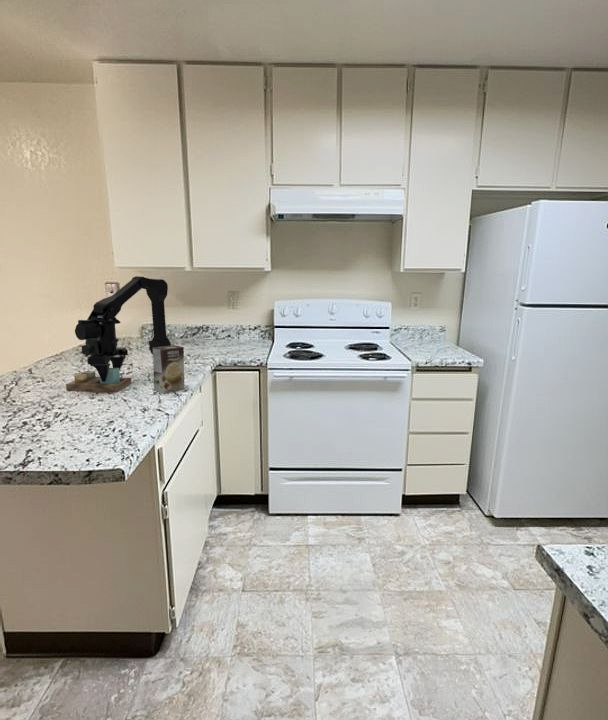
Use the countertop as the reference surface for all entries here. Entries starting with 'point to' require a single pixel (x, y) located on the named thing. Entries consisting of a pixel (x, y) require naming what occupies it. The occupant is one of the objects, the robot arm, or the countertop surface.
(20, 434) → the countertop surface
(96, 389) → the puzzle board
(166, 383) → the coffee box
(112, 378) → the teal block
